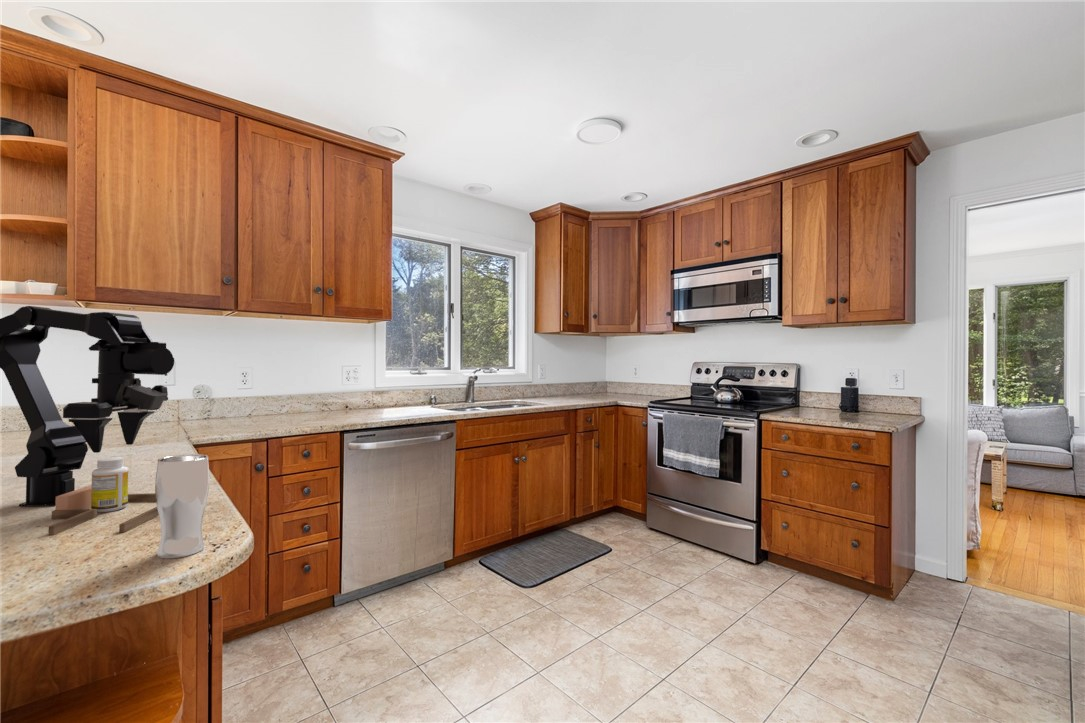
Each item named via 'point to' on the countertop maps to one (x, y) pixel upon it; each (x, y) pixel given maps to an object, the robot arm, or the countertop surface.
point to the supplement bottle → (109, 485)
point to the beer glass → (181, 503)
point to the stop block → (75, 499)
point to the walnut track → (83, 515)
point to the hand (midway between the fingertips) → (113, 448)
